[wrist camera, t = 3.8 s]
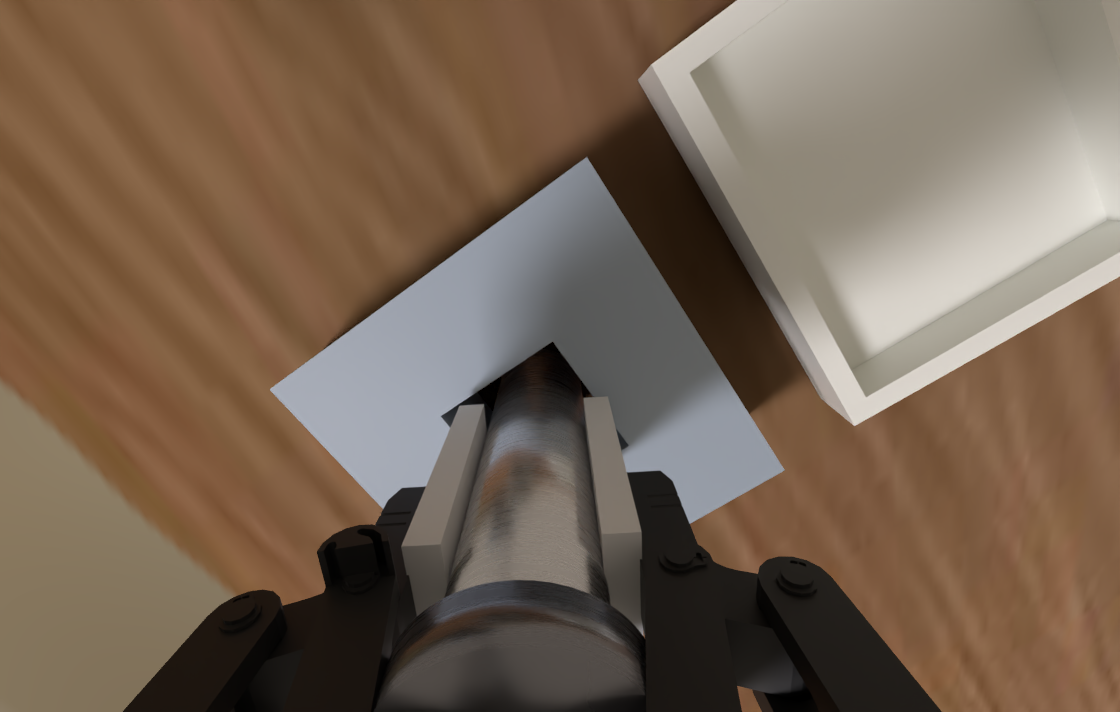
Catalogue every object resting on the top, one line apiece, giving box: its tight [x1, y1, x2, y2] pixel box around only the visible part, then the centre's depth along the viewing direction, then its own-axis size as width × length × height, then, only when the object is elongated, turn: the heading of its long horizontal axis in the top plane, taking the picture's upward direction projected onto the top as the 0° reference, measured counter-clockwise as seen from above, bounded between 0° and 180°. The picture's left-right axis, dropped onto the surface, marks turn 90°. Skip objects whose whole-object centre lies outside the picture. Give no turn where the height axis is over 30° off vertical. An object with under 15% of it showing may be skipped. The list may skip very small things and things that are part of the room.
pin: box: [373, 349, 646, 712], centre depth 14 cm, size 4×4×14 cm
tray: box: [638, 0, 1120, 426], centre depth 17 cm, size 14×12×2 cm
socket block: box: [270, 157, 784, 524], centre depth 19 cm, size 12×12×4 cm
